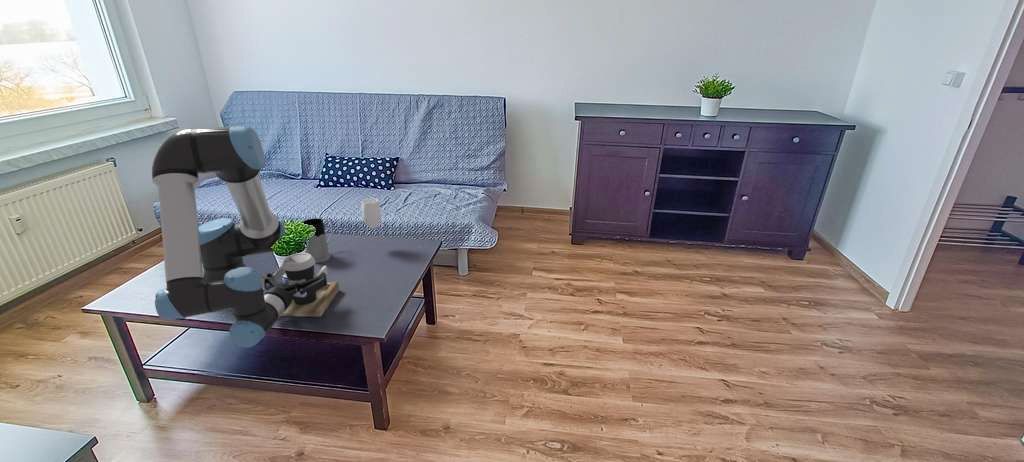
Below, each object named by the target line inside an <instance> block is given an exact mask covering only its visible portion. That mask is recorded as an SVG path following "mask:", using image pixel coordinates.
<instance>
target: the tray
mask: <svg viewBox="0 0 1024 462" xmlns="http://www.w3.org/2000/svg"><path fill="white" fill-rule="evenodd" d="M286 285H289V282H288V283H287V284H286ZM339 292H340V286H339V281H335V280H334V281H332V282H331V281H329V282H327V286H325V287H323V288H321V289H319V290H318V291H316V300H315V301H313V302H312V303H309V304H306V305H298V304H296V303H295V301H294V299H293V300H292V302H291V304H290V306H289V307H288V308H287V309H286V311H285V312H284V313H283V314H282V315H281V316H280V317H315V318H316V317H319V318H320V317H322V316H323V314H324V313H325V311H326V310H327V308H328V307H329V305H330V304H331V302H333V300H334V299H335V297H336V296H337V294H338V293H339Z"/></svg>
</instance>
